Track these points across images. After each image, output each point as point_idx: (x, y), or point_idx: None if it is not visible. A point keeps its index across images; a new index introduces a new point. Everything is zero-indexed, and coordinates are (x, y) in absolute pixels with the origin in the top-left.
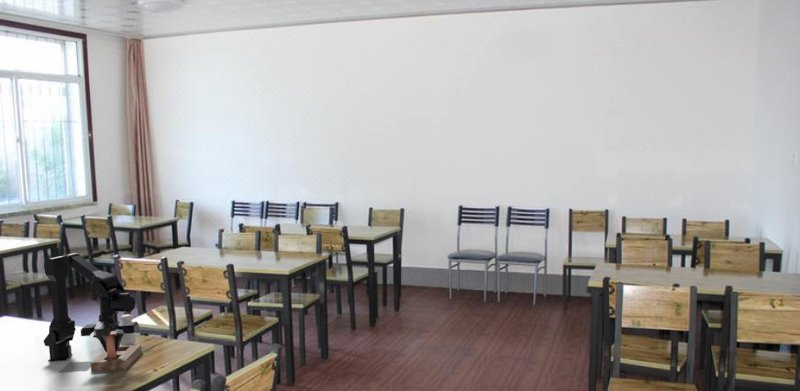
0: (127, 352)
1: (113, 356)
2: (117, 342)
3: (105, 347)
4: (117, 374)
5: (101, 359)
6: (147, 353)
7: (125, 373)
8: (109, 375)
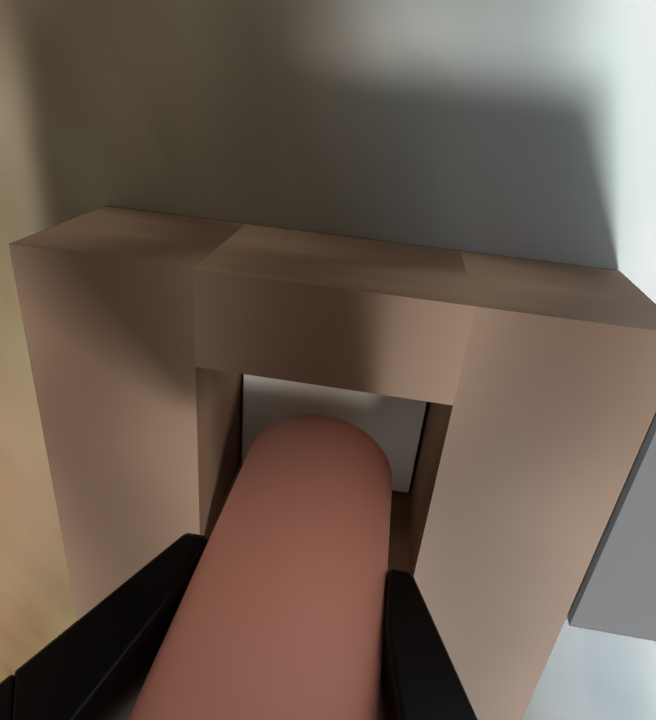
0: None
1: (265, 451)
2: (5, 706)
3: (401, 659)
4: (157, 21)
5: (484, 446)
6: None
7: (42, 36)
8: (281, 4)
